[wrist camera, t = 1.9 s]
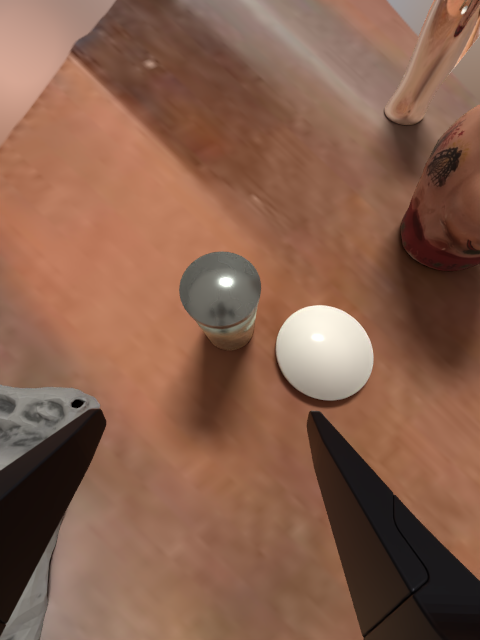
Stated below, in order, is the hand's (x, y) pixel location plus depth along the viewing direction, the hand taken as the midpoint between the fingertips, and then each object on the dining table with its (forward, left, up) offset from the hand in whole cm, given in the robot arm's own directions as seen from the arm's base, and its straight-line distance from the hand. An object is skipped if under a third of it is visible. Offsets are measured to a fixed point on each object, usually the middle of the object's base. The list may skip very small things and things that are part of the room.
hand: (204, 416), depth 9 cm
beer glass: (0, -52, -14) cm, 54 cm away
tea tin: (+4, -7, -13) cm, 16 cm away
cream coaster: (-6, -10, -13) cm, 18 cm away
